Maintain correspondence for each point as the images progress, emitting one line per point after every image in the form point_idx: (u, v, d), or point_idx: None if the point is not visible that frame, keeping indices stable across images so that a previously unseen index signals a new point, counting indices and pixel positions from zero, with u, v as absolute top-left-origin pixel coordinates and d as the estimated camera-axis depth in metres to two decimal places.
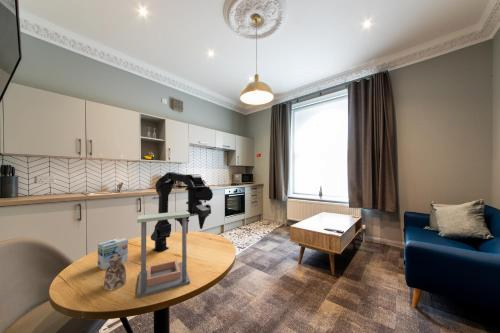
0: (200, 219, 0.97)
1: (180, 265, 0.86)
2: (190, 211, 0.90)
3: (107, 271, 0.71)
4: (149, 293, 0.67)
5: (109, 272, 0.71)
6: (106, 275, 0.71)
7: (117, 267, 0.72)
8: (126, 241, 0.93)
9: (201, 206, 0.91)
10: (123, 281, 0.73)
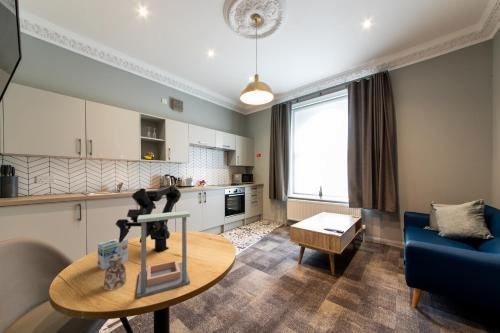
0: None
1: (180, 265, 0.86)
2: None
3: (107, 271, 0.71)
4: (149, 293, 0.67)
5: (109, 272, 0.71)
6: (106, 275, 0.71)
7: (117, 267, 0.72)
8: (126, 241, 0.93)
9: None
10: (123, 281, 0.73)
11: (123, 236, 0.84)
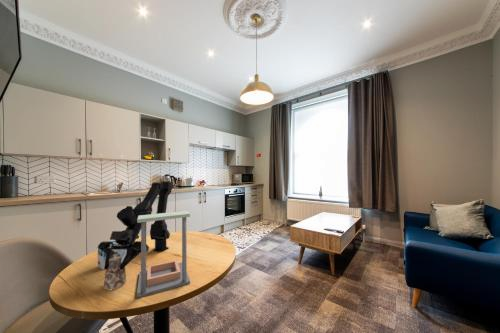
0: None
1: (180, 265, 0.86)
2: None
3: (107, 271, 0.71)
4: (149, 293, 0.67)
5: (109, 272, 0.71)
6: (106, 275, 0.71)
7: (117, 266, 0.72)
8: None
9: None
10: (123, 281, 0.73)
11: None
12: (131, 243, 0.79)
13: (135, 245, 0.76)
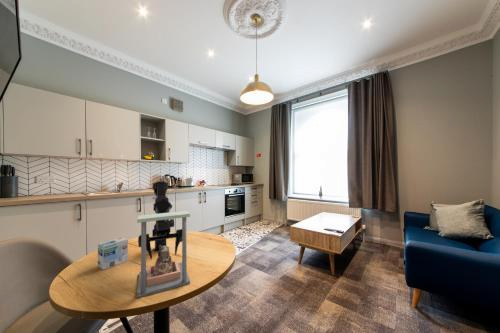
0: (175, 244, 0.83)
1: (180, 265, 0.86)
2: (156, 234, 0.82)
3: (159, 262, 0.76)
4: (149, 293, 0.67)
5: (162, 262, 0.76)
6: (159, 266, 0.75)
7: (168, 256, 0.78)
8: (126, 241, 0.93)
9: None
10: (172, 269, 0.79)
11: None
12: (169, 232, 0.84)
13: (179, 232, 0.83)
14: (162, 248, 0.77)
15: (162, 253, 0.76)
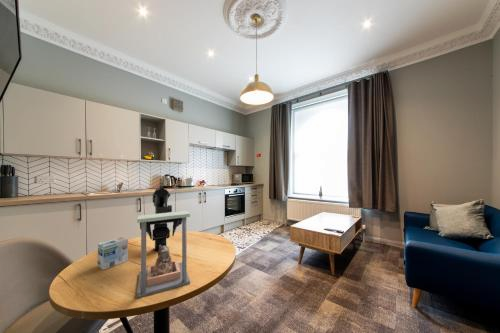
0: None
1: (180, 265, 0.86)
2: None
3: (159, 262, 0.76)
4: (149, 293, 0.67)
5: (162, 262, 0.76)
6: (159, 266, 0.75)
7: (168, 256, 0.78)
8: (126, 241, 0.93)
9: None
10: (172, 269, 0.79)
11: None
12: None
13: None
14: (162, 248, 0.77)
15: (162, 253, 0.76)
